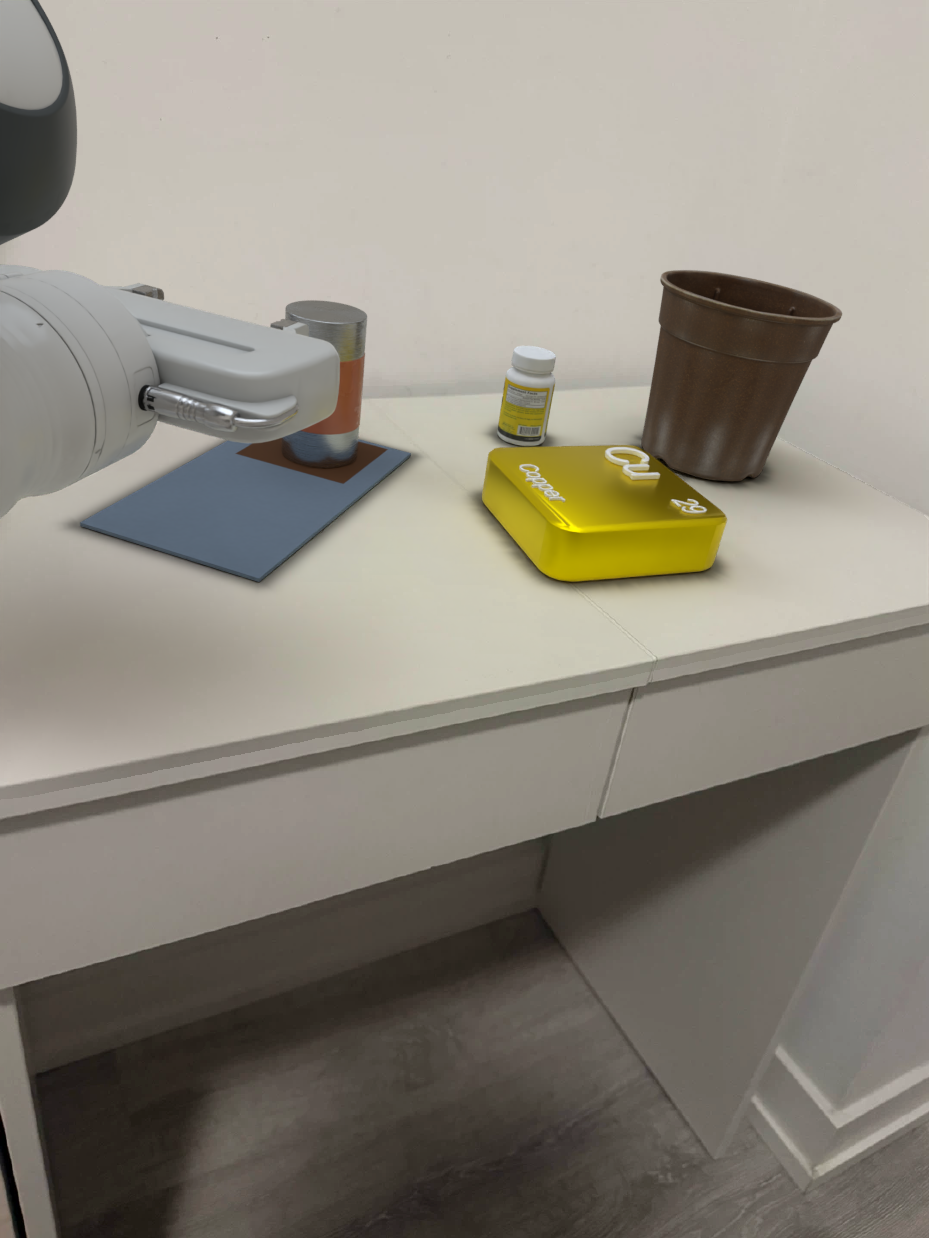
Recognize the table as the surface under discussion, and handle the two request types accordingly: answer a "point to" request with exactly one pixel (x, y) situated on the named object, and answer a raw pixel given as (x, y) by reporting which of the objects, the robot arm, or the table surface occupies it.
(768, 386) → the plant pot
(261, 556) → the rubber mat
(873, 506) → the table surface
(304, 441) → the tin can
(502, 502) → the element tile
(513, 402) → the supplement bottle
